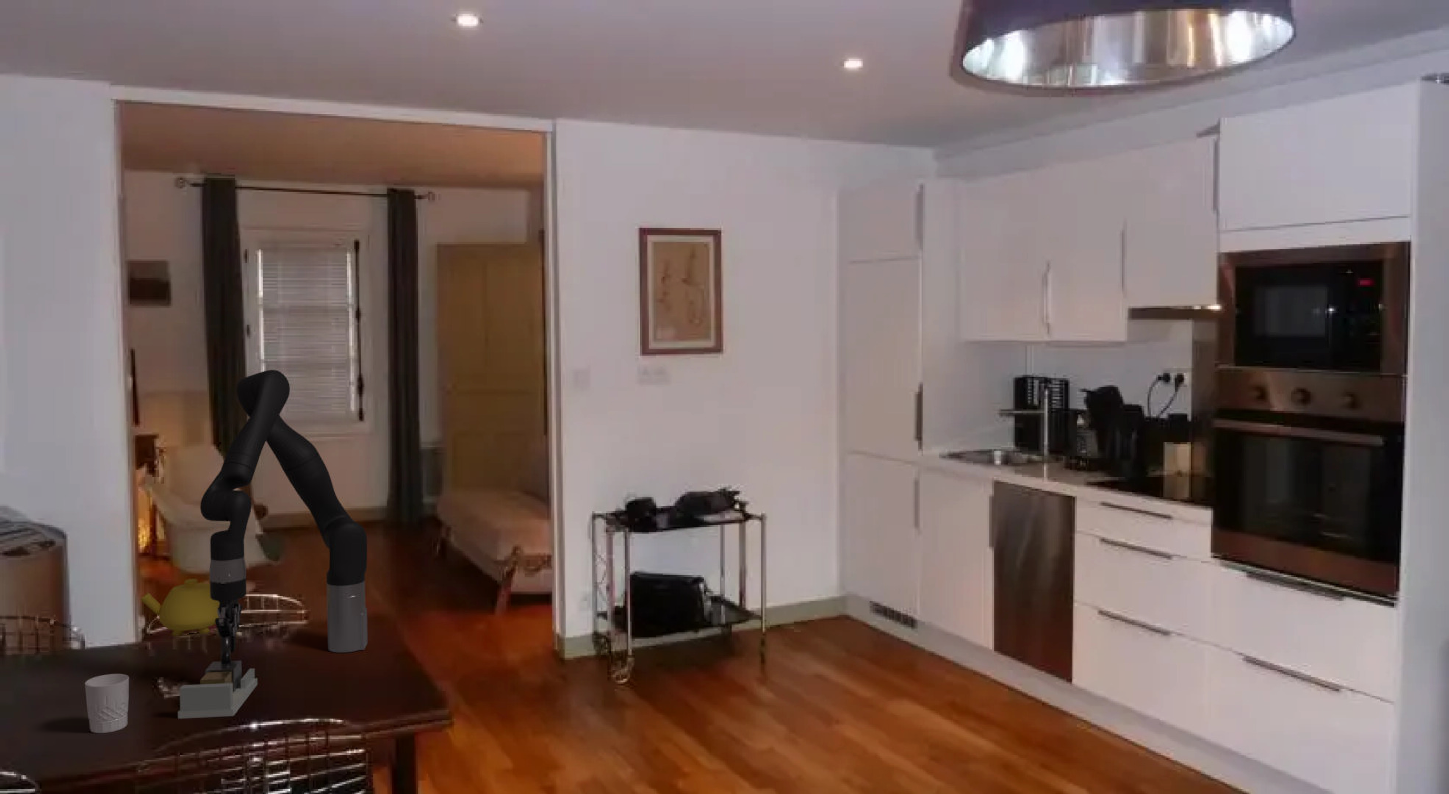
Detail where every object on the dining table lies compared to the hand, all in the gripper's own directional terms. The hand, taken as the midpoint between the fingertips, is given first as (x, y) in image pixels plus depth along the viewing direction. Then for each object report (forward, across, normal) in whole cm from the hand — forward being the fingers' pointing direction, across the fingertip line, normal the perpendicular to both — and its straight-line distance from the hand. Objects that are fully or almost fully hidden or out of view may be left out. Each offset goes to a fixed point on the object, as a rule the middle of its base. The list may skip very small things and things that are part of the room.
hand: (229, 651), depth 251 cm
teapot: (+8, -48, -25) cm, 55 cm away
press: (+8, +10, 0) cm, 13 cm away
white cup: (+8, +23, -18) cm, 30 cm away
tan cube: (+7, +12, 0) cm, 14 cm away
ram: (+6, +6, 0) cm, 9 cm away
